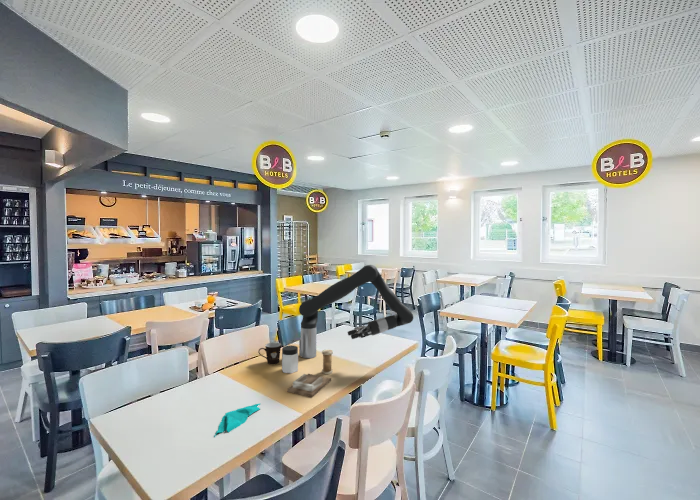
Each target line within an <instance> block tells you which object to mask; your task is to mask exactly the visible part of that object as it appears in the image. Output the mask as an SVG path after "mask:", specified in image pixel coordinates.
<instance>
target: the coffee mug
mask: <svg viewBox="0 0 700 500" xmlns="http://www.w3.org/2000/svg"><path fill="white" fill-rule="evenodd" d="M264 346H265V348H264V347H261V348H259V349H258V355H260V356H261V357H262V358H264V359H266V363H267V364H268V365H277V364H279V363H280V357H281V351H282V349H281V348H282V343H281V342H268V343H266V344H265V345H264ZM261 350H264V351H265V353H266V354H265V355H266V356H264V355H263V354H261V353H260V351H261Z"/></svg>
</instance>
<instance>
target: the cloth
mask: <svg viewBox="0 0 700 500" xmlns="http://www.w3.org/2000/svg"><path fill="white" fill-rule="evenodd" d="M258 405H259V406H260V405H261V403H255V404H251V405H248V406H244V407H239V408H237V409H235V410H231V411H228V412H225V414H224V415H223V416H222V418H221V421H220V422H219V424H218V426H217V430H216V432H215V434H214V435H213V436H214V438H216V435H218V433H224V431H225V432H227V433H228V434H229V433H230V432H232V431H234V430H236V429H237V428H239V427H240V426H241V425H244V424H245V423H246V422H247V420H248V418H249V416H251V415H252V414H253V413H255V412H258V411H259V410H261V408H260V407H259V406H258ZM257 406H258V407H257Z"/></svg>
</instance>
